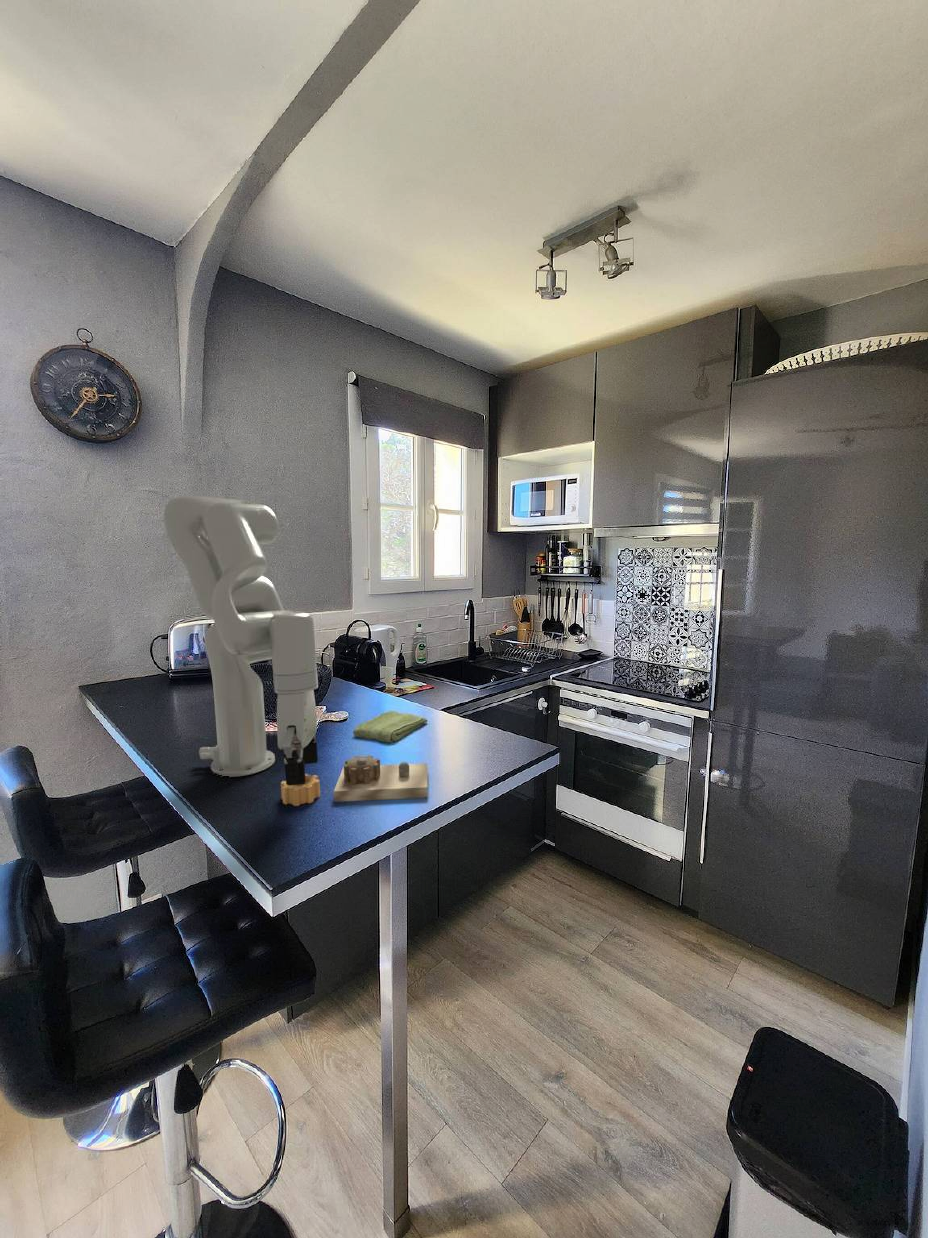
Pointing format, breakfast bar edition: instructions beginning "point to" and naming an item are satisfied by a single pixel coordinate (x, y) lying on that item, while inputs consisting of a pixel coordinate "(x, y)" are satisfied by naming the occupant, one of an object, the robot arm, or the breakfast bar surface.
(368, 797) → the gear board
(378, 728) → the washcloth
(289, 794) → the loose gear
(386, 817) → the breakfast bar surface
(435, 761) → the breakfast bar surface
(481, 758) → the breakfast bar surface
